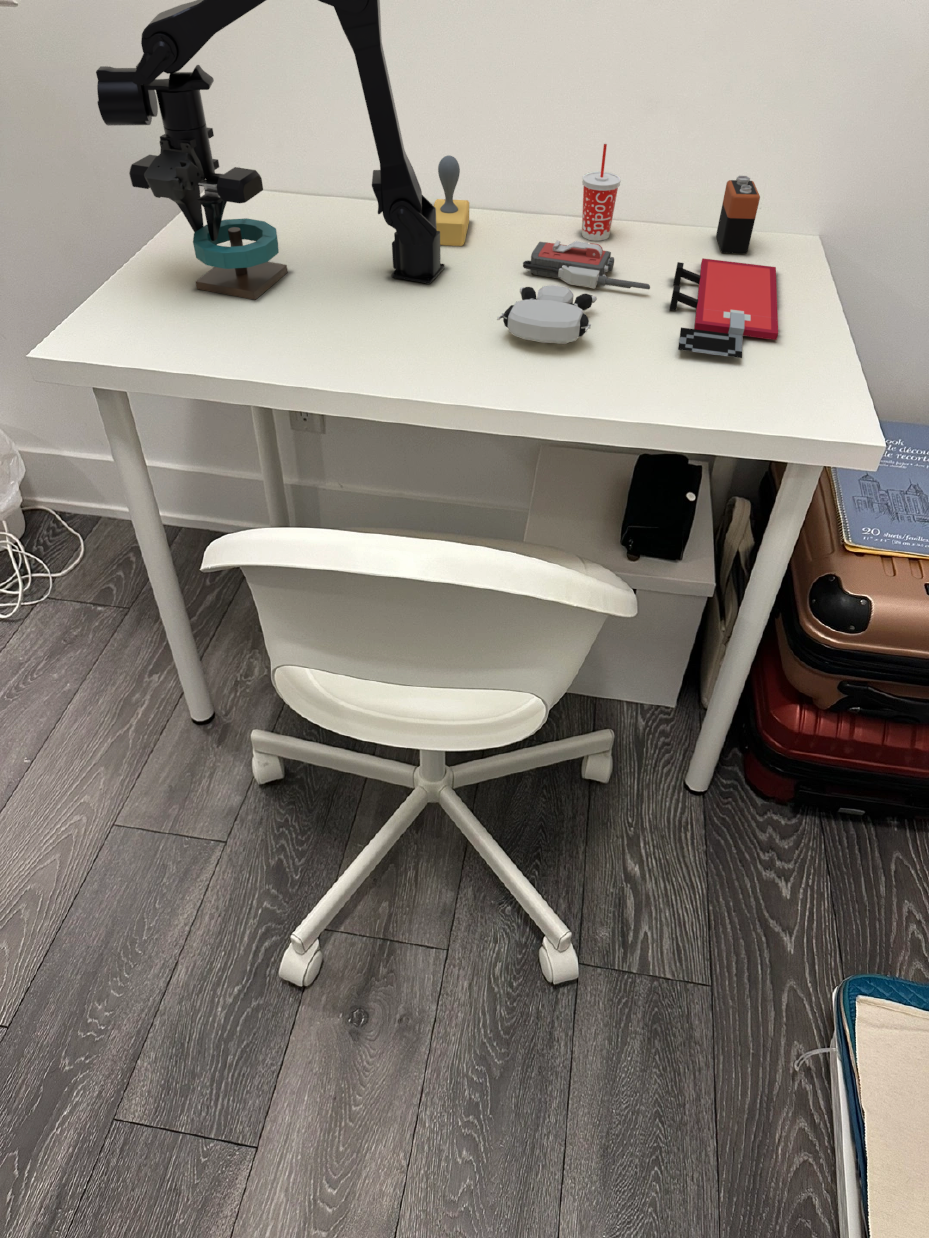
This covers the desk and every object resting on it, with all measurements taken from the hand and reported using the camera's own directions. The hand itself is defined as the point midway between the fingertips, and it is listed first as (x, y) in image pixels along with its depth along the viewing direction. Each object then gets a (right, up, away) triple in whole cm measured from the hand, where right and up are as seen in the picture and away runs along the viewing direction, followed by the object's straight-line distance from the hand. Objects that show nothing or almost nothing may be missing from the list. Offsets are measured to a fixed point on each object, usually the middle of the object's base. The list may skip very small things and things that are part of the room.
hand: (207, 239), depth 133 cm
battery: (+82, +4, +13) cm, 83 cm away
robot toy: (+50, -16, -7) cm, 53 cm away
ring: (+5, -2, -1) cm, 5 cm away
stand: (+5, -5, +3) cm, 8 cm away
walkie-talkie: (+58, -4, +4) cm, 58 cm away
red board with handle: (+76, -12, -4) cm, 77 cm away
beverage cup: (+60, +7, +16) cm, 63 cm away
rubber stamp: (+36, +8, +16) cm, 40 cm away
